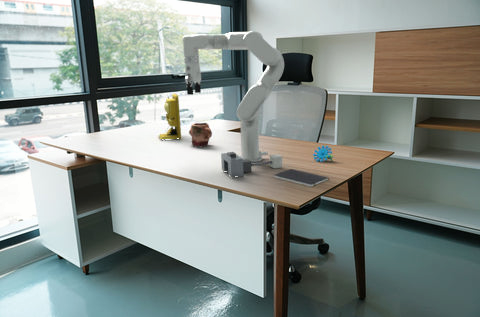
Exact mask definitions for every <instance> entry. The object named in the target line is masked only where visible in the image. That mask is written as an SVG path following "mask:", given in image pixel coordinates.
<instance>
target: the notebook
mask: <svg viewBox="0 0 480 317" xmlns="http://www.w3.org/2000/svg"><path fill="white" fill-rule="evenodd" d="M273 176H274V178H277V179H280V180H283V181H288V182H292V183H296V184H300V185H304V186H308V187H313V186H316V185H318V184H321V183H323V182H326V181H329V180H330V178H329V177H328V176H324V175H319V174H316V173H315V174H314V173H310V172H307V171H302V170H297V169H293V168H290V169H289V168H288V169H287V170H283V171H281V172H278V173H275V174H274V175H273Z"/></svg>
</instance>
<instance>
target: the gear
mask: <svg viewBox="0 0 480 317" xmlns="http://www.w3.org/2000/svg"><path fill="white" fill-rule="evenodd" d="M317 149H318V150H317ZM317 149H315V150H314V153H313V154H312V156H313V159H314V161H315V160H316V162H320V163H323V162H324V161H328V160H330V162H333V158H334V156H333V154H332V153H333V151H332V148H331V147H330V146H329V145H326V146H325V145H321V147H320V146H318V147H317Z"/></svg>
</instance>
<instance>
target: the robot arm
mask: <svg viewBox="0 0 480 317" xmlns="http://www.w3.org/2000/svg"><path fill="white" fill-rule="evenodd" d="M182 44H183V59H184V66H185V72H184V74H185V78H184V81H185V86H186V93H187V95H189V96H190V95H194V93H195V94H200V93H202V91H201V89H202V88H201V81H202V72H201V67H200V54H199V53H200V52H199V50H229V51H234V50H235V51H240V50H241V51H242V50H244V51H245V50H248V51H249V52H250V53H251V54H253V56H255V58H257V59H258V60H259V61H260V62H261V63H262V64H264V65H265V66H266V68H265V70H264V71H263V73H261V76H260V78H259V79H258V80H257V82H256V83H255V84H253V85H252V86H251V87H250V88H249V89H248V91H247V92H246V94H245V95H244V96H243V98H242V100H241V102H240V103H239V105H238V106H237V109H236V116H237V119H238V120H239V121H240V148H241V152H240V153H241V156H240V157H241V158H243V160H245V159H249V160H250V161H251V164H253V163H260V162H261V161H263V156H269V153H268V151H261V150H260V132H259V131H260V126H259V125H260V109H261V107H262V106H263V104H264V103H265V102H266V101H267V100H268V99H269V97H270V95H271V93H272V92H273V90H274V88H275V87H276V86H277V84H278V82H279V80H280V79H281V77H282V75H283V73H284V69H285V61H284V60H285V59H284V56H283V55H282V53H281V51H280V50H279V49H278V48H275V47H273V46H272V45H270V44H269V42H267V40H265V39H264V36H263V35H262V33H260V32H259V31H256V30H250V31H232V32H228V33H222V34H221V33H220V34H208V33H207V34H206V33H200V34H188V35H184V36H183V37H182ZM193 84H194V86H193Z"/></svg>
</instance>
